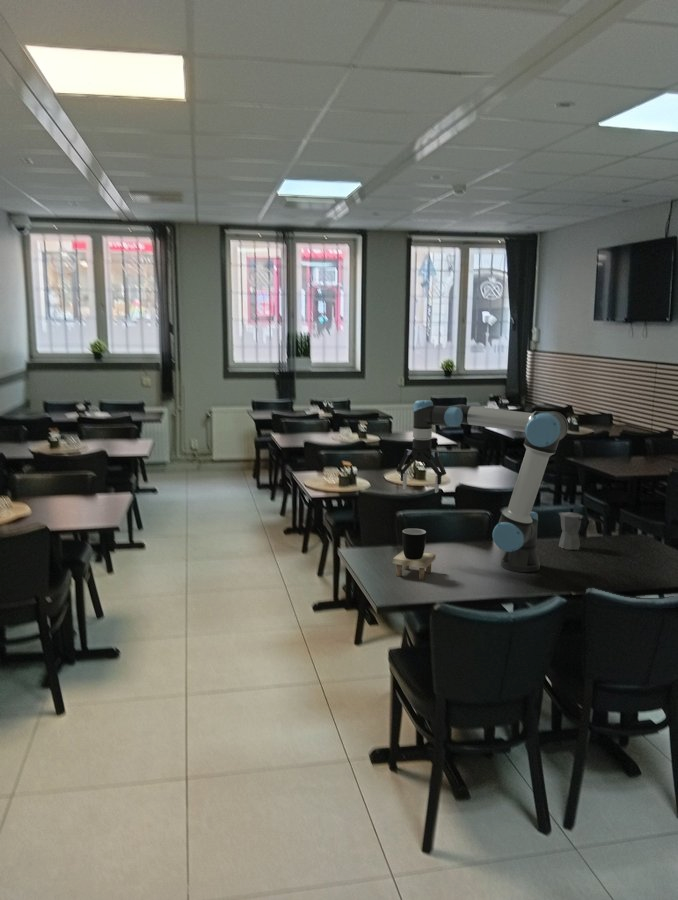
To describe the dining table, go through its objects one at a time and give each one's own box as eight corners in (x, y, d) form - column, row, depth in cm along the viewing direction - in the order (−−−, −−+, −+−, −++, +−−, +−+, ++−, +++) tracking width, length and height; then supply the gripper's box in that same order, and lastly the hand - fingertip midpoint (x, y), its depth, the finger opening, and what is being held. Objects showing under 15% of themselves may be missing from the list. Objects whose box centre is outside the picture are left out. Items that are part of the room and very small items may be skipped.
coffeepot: (550, 546, 313) (552, 506, 311) (562, 543, 319) (565, 504, 316) (580, 554, 301) (583, 513, 298) (593, 551, 307) (596, 510, 304)
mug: (428, 560, 266) (429, 534, 264) (405, 561, 264) (405, 534, 263) (419, 551, 277) (420, 526, 276) (397, 552, 276) (397, 526, 274)
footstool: (434, 571, 275) (435, 554, 274) (425, 581, 263) (425, 563, 262) (403, 567, 280) (403, 549, 279) (392, 576, 268) (392, 558, 267)
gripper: (454, 439, 282) (452, 491, 285) (395, 435, 292) (394, 486, 295) (450, 441, 276) (448, 495, 279) (389, 437, 285) (388, 489, 288)
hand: (420, 490), depth 287 cm, fingers open, 13 cm apart
